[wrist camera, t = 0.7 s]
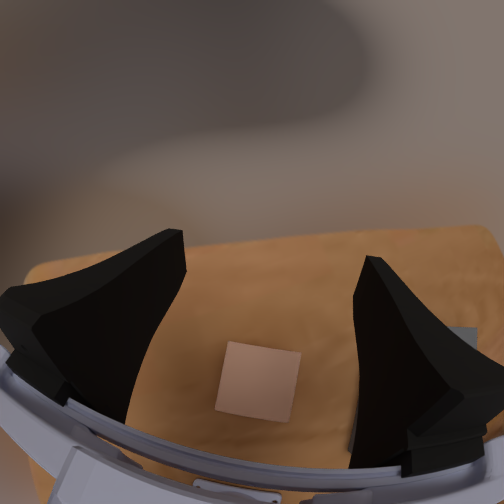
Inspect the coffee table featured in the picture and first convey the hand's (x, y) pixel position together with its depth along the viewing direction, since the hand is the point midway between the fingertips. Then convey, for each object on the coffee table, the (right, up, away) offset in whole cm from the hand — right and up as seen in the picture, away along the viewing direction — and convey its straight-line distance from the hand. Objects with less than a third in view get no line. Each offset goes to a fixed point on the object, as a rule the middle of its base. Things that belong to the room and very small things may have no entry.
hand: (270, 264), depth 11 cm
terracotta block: (0, -11, +12) cm, 16 cm away
